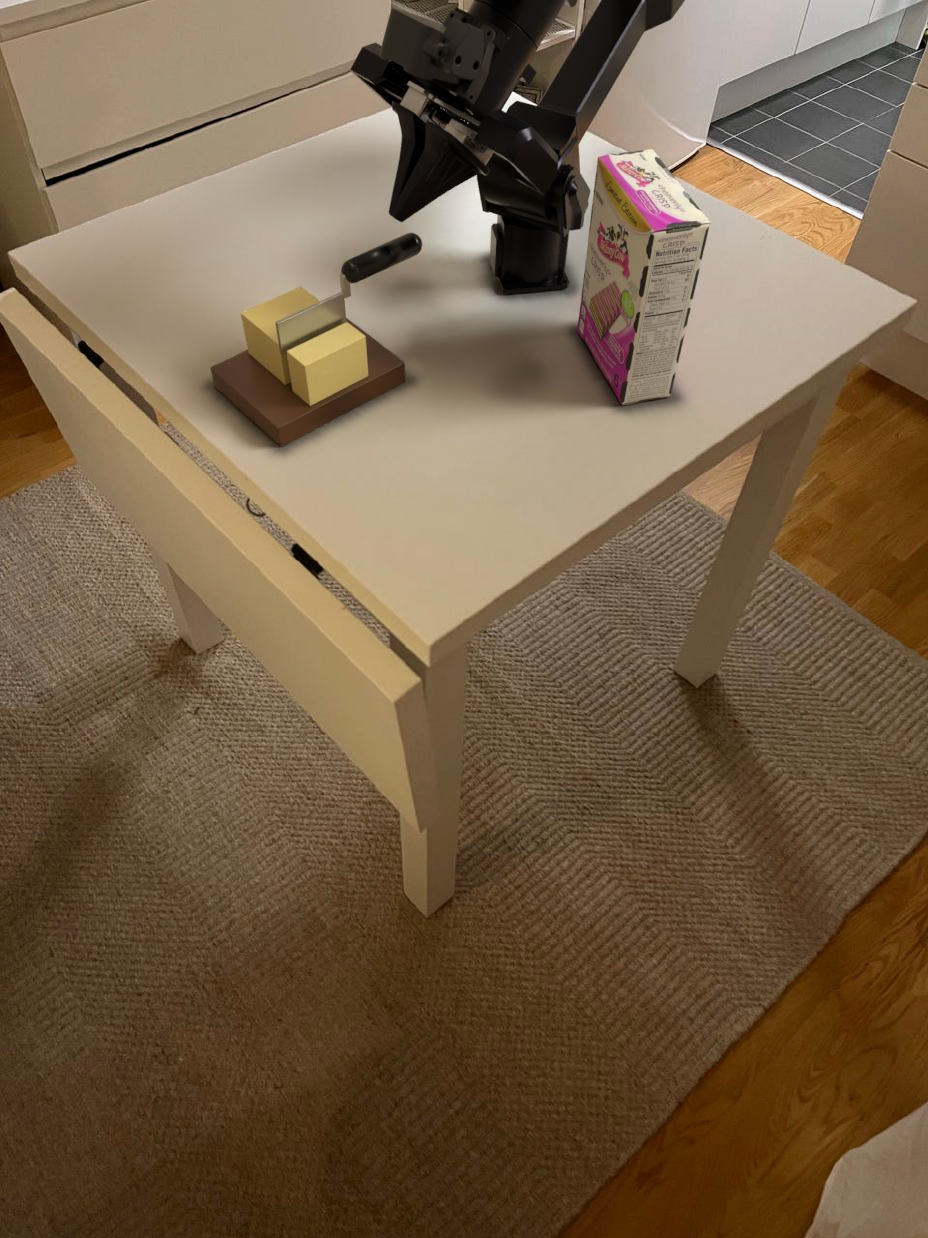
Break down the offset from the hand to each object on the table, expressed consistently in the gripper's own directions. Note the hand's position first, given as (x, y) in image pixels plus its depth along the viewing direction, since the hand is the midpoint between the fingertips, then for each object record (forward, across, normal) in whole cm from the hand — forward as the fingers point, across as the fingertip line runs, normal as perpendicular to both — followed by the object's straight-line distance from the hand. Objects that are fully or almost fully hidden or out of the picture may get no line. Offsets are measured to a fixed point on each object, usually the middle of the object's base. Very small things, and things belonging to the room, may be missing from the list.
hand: (394, 218), depth 75 cm
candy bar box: (-1, +14, +19) cm, 23 cm away
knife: (+8, 0, +2) cm, 9 cm away
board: (+15, -2, +3) cm, 15 cm away
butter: (+14, -2, +1) cm, 14 cm away
